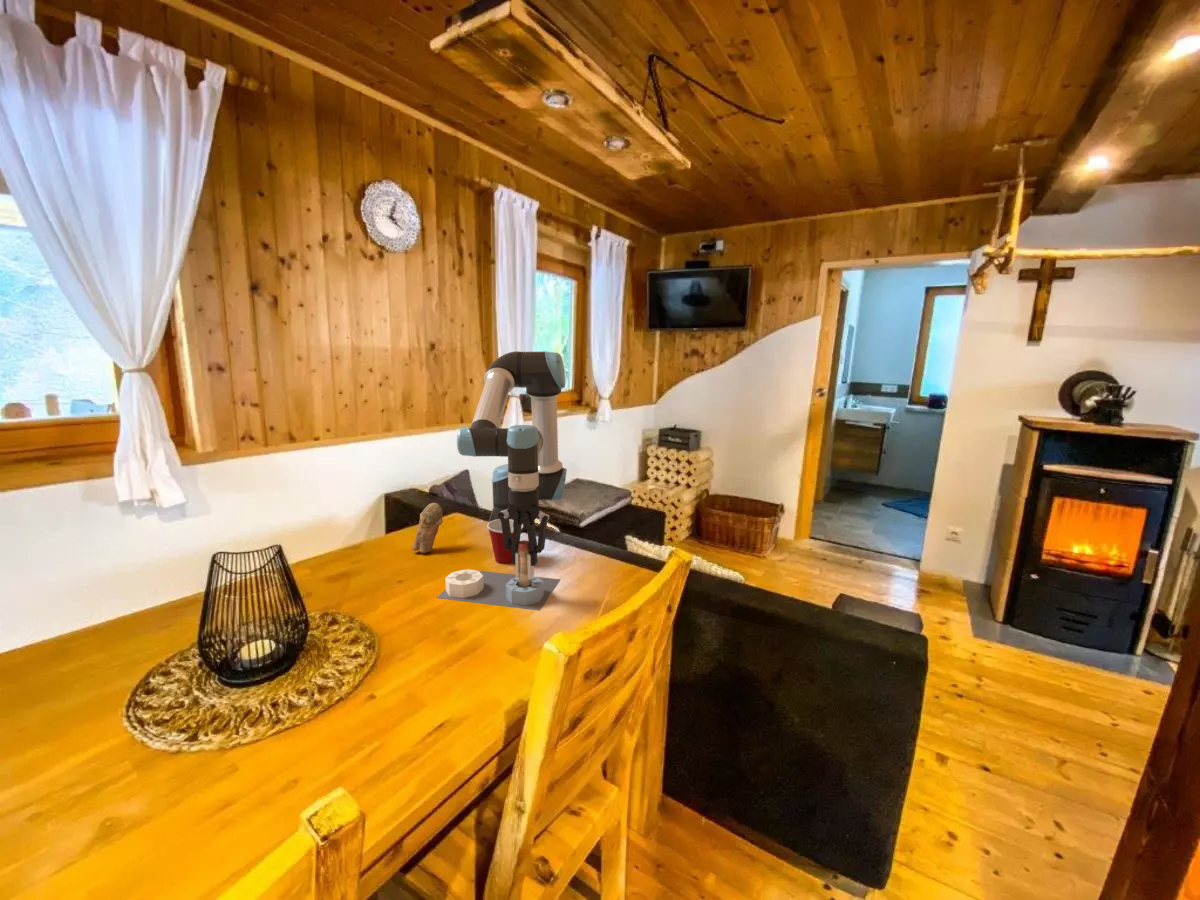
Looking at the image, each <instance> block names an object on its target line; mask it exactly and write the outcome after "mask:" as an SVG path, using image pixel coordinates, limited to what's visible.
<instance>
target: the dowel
mask: <svg viewBox="0 0 1200 900" xmlns="http://www.w3.org/2000/svg"><path fill="white" fill-rule="evenodd" d="M518 550H519V587H521V588H527V587H531V579H528V570H527V555H528V554H529V553H530V548H529V541H528V540H524V539H523V540H520V541H519V542H518Z"/></svg>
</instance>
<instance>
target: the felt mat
mask: <svg viewBox="0 0 1200 900" xmlns="http://www.w3.org/2000/svg"><path fill="white" fill-rule="evenodd" d="M467 570H470V569H467ZM475 570H476V569H475ZM476 571H479V572H480V573H481V574H482V575H483V585H484V588H483V589H482V590H481V591H480V592H479V593H478V594H477V595H474V596H470V597H466V598H458V597H450V596H449V595H448V593H447V592H446V588H445V590H443V591H442V592H440V594H439V595H437V596H436V597H435V599H439V600H449V601H457V602H458V601H459V602H466V603H473V604H483V605H491V606H498V607H499V606H500V607H506V608H514V609H516V608H517V609H521V610H522V609H523V610H532V611H541V610H542V608H543V606H544V605H545V604H546V602H547V601H548V599H549V597H550V596H552V595H551V594H553V592H554V590H555V588H556V587H557V585H559V583H560V581H561V578H550V577H542V576H537V577H538V578H539V579H541V580H542V581H543V582H544V596H543V597H542V599H541V600H540V602H537V603H534V604H530V605H526V606H525V605H516V604H511V602H510V601H509V600H508V599H507V598H506V584H507V583H508V582H509V581H510V580H511V579H513V578H516V573H515V574H514V573H513V574H512V573H506V572H505V573H504V572H495V571H486V570H485V571H484V570H476ZM533 577H535V575H533Z"/></svg>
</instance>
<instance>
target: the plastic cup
mask: <svg viewBox="0 0 1200 900" xmlns="http://www.w3.org/2000/svg"><path fill="white" fill-rule="evenodd" d="M509 522H510V529H511V537H512V538H513V529H514V527H513V522H514V520H511V519H509ZM486 527H487V529H488V532H489V536H490V541H491V544H492V545H491V547H492V551H493V555H494V560H495V562H496V563H497V564H500V565H506V564H513V563H512V552H511V551H510V550H506V549H505V548H504V540H503V533H502V525H501V521H500V519H498V520H493V521H490V522H489V521H488V523H487V524H486ZM522 528H523V524H522V526H521V530H522Z"/></svg>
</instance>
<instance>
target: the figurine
mask: <svg viewBox="0 0 1200 900" xmlns="http://www.w3.org/2000/svg"><path fill="white" fill-rule="evenodd" d="M443 516H444V515H443V509H442V507H441V506H440V505H439V503H437V502H432V503H429V504H428V505H426V506H425V508H424V509H423V510H422V512H421V513H420V514H419V521H418V522H419V523H418V525H417V528H416V536H415V539H414V542H413V544H412V546H411V550H412V551H419V553H423V554H426V553H429V552H432V551H433V548H434V547H433V545H434V543H435V540H436V536H437V534H438V532H439V529H440V526H441V525H442V524H443Z"/></svg>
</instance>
